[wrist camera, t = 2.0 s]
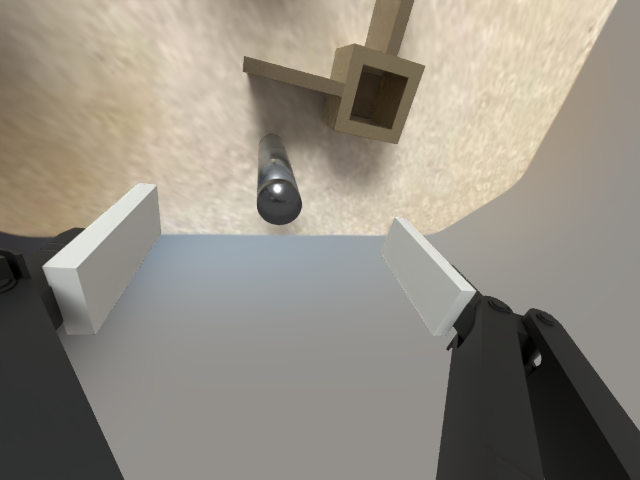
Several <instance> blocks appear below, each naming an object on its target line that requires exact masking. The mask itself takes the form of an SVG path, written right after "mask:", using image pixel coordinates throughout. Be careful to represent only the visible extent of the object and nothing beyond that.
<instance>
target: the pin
mask: <svg viewBox="0 0 640 480" xmlns="http://www.w3.org/2000/svg"><path fill="white" fill-rule="evenodd" d="M301 208H302V201H301V197H300V194H299V191H298V187H297V184H296V181H295V178H294V174H293V171H292V168H291V165H290V161H289V158H288V155H287V152H286V148H285V145H284V142H283V140H282V139H281V138H280V137H279V136H277V135H274V134H268V135H265V136H264V137H263V138H262V139H261V140H260V143H259V158H258V187H257V209H258V212H259V214H260V216H261V217H262V218H263V219H264V220H265V221H267V222H269V223H271V224H275V225H284V224H288V223H290V222H292V221H293V220H295V219H296V218H297V216H298V215H299V214H300V211H301Z"/></svg>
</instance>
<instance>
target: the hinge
mask: <svg viewBox="0 0 640 480" xmlns="http://www.w3.org/2000/svg"><path fill="white" fill-rule="evenodd" d="M413 3H414V0H376V3H375V7H374V11H373V15H372V19H371V23H370V27H369V31H368V35H367V39H366V43H365V47H364V46H361V45H358V44H351V45H348V46H344V47H341V48H337V49H336V53H335V57H334V62H333V67H332V72H331V77H330V79H327V78H323V77H320V76H316V75H312V74H309V73H305V72H301V71H297V70H294V69H290V68H286V67H283V66H279V65H275V64H272V63H268V62H264V61H260V60H257V59H253V58H249V57H246V56H244V64H243V72H246V73H250V74H254V75H258V76H262V77H266V78H270V79H273V80H277V81H281V82H285V83H289V84H293V85H297V86H301V87H305V88H309V89H313V90H317V91H321V92H325V93H327V96H326V101H325V106H324V110H323V115H322V121H323V122H324V123H326V124H327V125H328V126H329V127H330V128H332V129H333V130H334V131H338V132H343V133H348V134H352V135H357V136H362V137H366V138H371V139H375V140H380V141H385V142H389V143H394V144H398V141H399V139H400V136H401V133H402V130H403V127H404V125H405V122H406V119H407V116H408V113H409V110H410V108H411V105H412V102H413V99H414V96H415V94H416V91H417V88H418V85H419V82H420V80H421V77H422V74H423V71H424V68H425V66H424V65H421V64H418V63H415V62H411V61H408V60H405V59H402V58H399V57H397V55H398V52H399V48H400V45H401V42H402V39H403V35H404V32H405V29H406V25H407V22H408V19H409V16H410V12H411V9H412V6H413ZM361 71H365V72H369V73H372V74H376V75H379V76H382V78H381V82H380V85H379V88H378V92H377V95H376V99H375V102H374V106H373V109H372V112H371V116H370V119H369V120H368V119H364V118H360V117H356V116H351V115H350V114H351V110H352V106H353V103H354V99H355V95H356V91H357V87H358V83H359V79H360V75H361Z"/></svg>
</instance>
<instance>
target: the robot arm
mask: <svg viewBox="0 0 640 480" xmlns="http://www.w3.org/2000/svg"><path fill="white" fill-rule="evenodd" d="M160 234H161V226H160V215H159V204H158V192H157V185H152V184H145V183H138V184H137V185H136V186H135V187H133V188H132V189H131V190H130V191H129V192H128V193H127V194H125V195H124V196H123V197H122V198H121V199H120V200H118V201H117V202H116V203H115V204H114V205H113V206H112V207H110V208H109V209H108V210H107V211H106V212H105V213H103V214H102V215H101V216H100V217H99V218H98V219H97V220H95V221H94V222H93V223H92V224H91V225H90V226H88V227H87V228H86V229H85V228H73V229H70V230H68V231H66V232H63V233H61V234H59V235H58V236H56V237H55V238H54V239H52V240H51V241H50V242H49V244H46V245H45V246H43V247H42V248H41V250H40V251H37V252H36V253H35V254H33V255H32V256H31V257H29V258H28V259H27V260H26V261H24V258H23V256H22V254H21V253H20V252H19V251H17V250H14V249H10V248H0V480H124V478H123V476H122V474H121V472H120V469H119V467H118V465H117V463H116V461H115V458H114V456H113V454H112V452H111V450H110V448H109V446H108V443H107V441H106V439H105V437H104V435H103V432H102V430H101V428H100V426H99V424H98V422H97V419H96V417H95V415H94V413H93V411H92V408H91V406H90V404H89V402H88V400H87V398H86V395H85V394H84V391H83V389H82V387H81V385H80V382H79V380H78V378H77V376H76V374H75V372H74V369H73V367H72V365H71V363H70V361H69V359H68V356H67V354H66V352H65V350H64V348H63V346H62V343H61V341H60V339H59V337H58V335H57V333H56V330H57V329H58V327H59V326H60V325H61V324H62V323H63V324H64V327H65V330H66V332H67V334H68V335H96V333H97V332H98V330H99V328H100V327H101V325H102V324H103V322H104V321H105V319H106V318H107V316H108V315H109V313H110V311H111V310H112V308H113V307H114V305H115V304H116V302H117V301H118V299H119V297H120V296H121V295H122V293H123V291H124V290H125V288H126V287H127V285H128V284H129V282H130V281H131V279H132V278H133V276H134V274H135V273H136V271H137V270H138V268H139V267H140V265H141V264H142V262H143V261H144V259H145V258H146V256H147V254H148V253H149V251H150V250H151V248H152V247H153V245H154V244H155V242H156V241H157V239H158V237H159V236H160ZM380 254H381V256H382V257H383V259H384V260H385V262H386V263H387V265H388V266H389V268H390V270H391V271H392V273H393V274H394V276H395V278H396V279H397V281H398V282H399V284H400V285H401V287H402V288H403V290H404V292H405V293H406V294H407V296H408V298H409V299H410V301H411V302H412V304H413V306H414V307H415V309H416V310H417V312H418V313H419V315H420V316H421V318H422V319H423V321H424V323H425V324H426V326H427V327H428V329H429V330H430V332H431V333H432V335H436V336H439V335H440V336H443V335H445V336H446V335H447V334H448V333H449V331H450V330H451V328H452V327H454V328H455V329H456V331H457V334H456V335H455V337H454V338H453V340H452V341H451V342H450V344H449V345H448V347H447V350H449V349H450V348H453V349H452V356H451V364H450V372H449V380H448V388H447V396H446V404H445V412H444V421H443V428H442V437H441V445H440V452H439V460H438V468H437V476H436V480H544V478H545V480H640V431H639V430H638V428H637V427H636V426H635V424H634V423H633V422H632V420H631V419H630V418H629V416H628V415H627V413H626V412H625V411H624V409H623V408H622V407H621V405H620V404H619V403H618V401H617V400H616V398H615V397H614V396H613V395H612V393H611V392H610V390H609V389H608V388H607V386H606V385H605V383H604V382H603V381H602V379H601V378H600V377H599V375H598V374H597V373H596V371H595V370H594V368H593V367H592V366H591V365H590V363H589V362H588V361H587V359H586V358H585V356H584V355H583V354H582V352H581V351H580V349H579V348H578V347H577V345H576V344H575V343H574V342H573V340H572V339H571V337H570V336H569V334H568V333H567V332H566V330H565V329H564V328H563V326H562V325H561V324H560V323H559V322H558V321H557V320H556V319H555V318H553V316H552V315H550V314H548V313H546V312H543V311H541V310H538V309H534V308H532V309H529V310H528V312H527V313H526V314H525V315H524V316H522V315H518V314H515V313H513V311H512V310H511V309H510V307H509V306H508V305H506V304H505V303H503V302H502V301H500V300H498V299H496V298H494V297H491V296H483V295H482V294H481V293H480V292H479V291H478V290H477V289H476V288H475V287H474V286H473V285H472V284H471V283H470V282H469V281H468V280H466V278H465V277H464V276H463V275H462V274H460V272H459V271H458V270H457V269H456V268H455V267H454V266H453V265H451V264H450V263H448V262H447V261H446V260H445V258H444V257H443V256H442V255H441V254H440V253H439V252H438V251H437V250H436V249H435V248H434V247H433V246H432V245H431V244H430V243H429V242H428V241H427V240H426V239H425V238H424V237H423V236H422V235H421V234H420V233H419V232H418V231H417V230H416V229H415V228H414V227H413V226H412V225H411V224H410V222H409V221H408V220H407V219H405V218H398V217H395V218H394V220H393V223H392V225H391V228H390V230H389V233H388V235H387V238H386V240H385V243H384V245H383V248H382V250H381V253H380ZM540 354H541V359H542V360H541V364H540V365H539V366H536V365H535V363H534V360H535V359H536V358H537V357H538V356H539V355H540Z"/></svg>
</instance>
